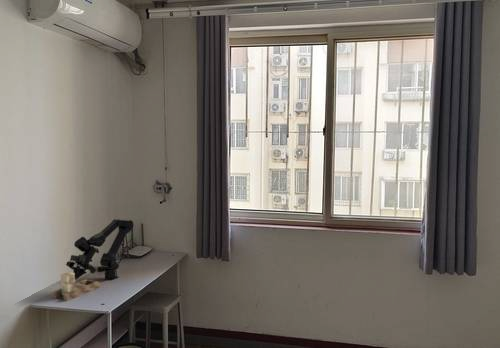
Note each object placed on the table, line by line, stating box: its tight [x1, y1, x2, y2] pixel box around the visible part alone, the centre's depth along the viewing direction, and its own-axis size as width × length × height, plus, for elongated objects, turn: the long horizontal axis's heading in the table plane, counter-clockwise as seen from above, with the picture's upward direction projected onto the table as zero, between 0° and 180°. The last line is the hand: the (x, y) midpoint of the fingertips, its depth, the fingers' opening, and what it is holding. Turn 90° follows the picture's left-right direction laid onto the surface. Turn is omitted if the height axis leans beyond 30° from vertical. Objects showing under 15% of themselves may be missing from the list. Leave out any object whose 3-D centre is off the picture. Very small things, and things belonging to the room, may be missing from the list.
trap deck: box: [51, 279, 101, 302], centre depth 236 cm, size 22×12×3 cm, turn 151°
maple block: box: [60, 271, 77, 292], centre depth 232 cm, size 5×5×9 cm
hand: (72, 280), depth 234 cm, fingers closed, pressing on maple block
